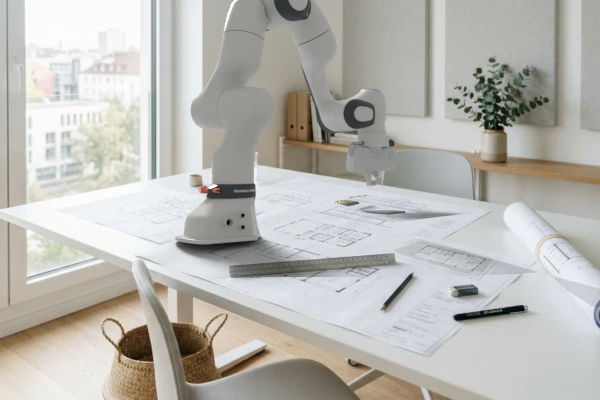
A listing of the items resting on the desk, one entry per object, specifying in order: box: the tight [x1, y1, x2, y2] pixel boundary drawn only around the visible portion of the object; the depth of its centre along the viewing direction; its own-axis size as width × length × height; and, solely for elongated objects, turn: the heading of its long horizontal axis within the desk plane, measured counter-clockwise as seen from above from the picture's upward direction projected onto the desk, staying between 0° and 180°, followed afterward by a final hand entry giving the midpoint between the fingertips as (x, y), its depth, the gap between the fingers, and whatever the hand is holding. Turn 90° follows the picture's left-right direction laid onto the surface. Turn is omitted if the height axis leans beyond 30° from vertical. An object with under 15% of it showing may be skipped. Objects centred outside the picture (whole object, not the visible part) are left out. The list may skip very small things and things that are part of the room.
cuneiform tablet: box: [334, 194, 368, 207], centre depth 198 cm, size 7×4×12 cm
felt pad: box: [362, 209, 406, 215], centre depth 188 cm, size 9×10×1 cm
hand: (371, 185), depth 190 cm, fingers closed
